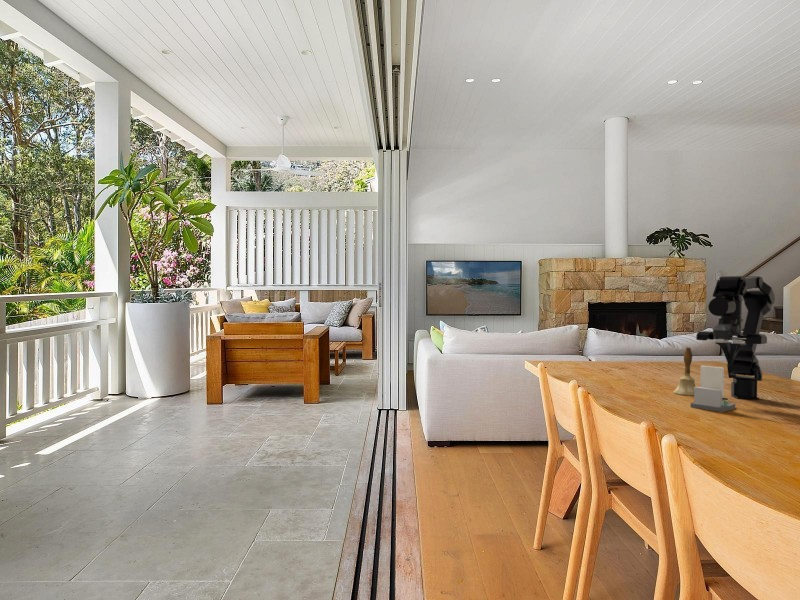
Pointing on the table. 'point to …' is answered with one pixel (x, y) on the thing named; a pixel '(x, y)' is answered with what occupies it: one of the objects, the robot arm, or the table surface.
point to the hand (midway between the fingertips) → (730, 364)
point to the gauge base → (710, 400)
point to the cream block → (713, 379)
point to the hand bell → (686, 377)
